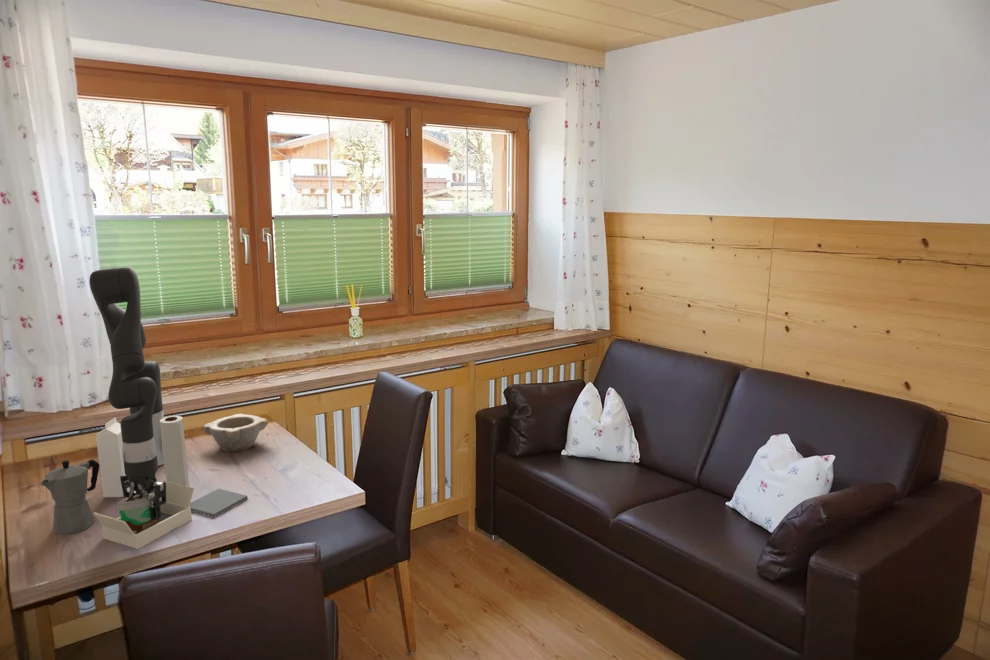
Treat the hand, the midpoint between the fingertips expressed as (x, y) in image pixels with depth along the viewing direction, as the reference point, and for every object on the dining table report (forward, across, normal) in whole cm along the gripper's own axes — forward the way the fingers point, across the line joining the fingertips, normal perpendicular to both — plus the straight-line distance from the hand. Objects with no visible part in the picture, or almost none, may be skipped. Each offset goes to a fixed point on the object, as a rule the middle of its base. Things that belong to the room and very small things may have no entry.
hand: (146, 516), depth 171 cm
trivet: (+3, +5, +18) cm, 19 cm away
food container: (+4, 0, 0) cm, 4 cm away
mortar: (+4, -22, +52) cm, 56 cm away
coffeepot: (+4, -19, -6) cm, 20 cm away
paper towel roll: (+4, -13, +20) cm, 24 cm away
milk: (+4, -26, +11) cm, 28 cm away
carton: (+4, 0, 0) cm, 4 cm away
